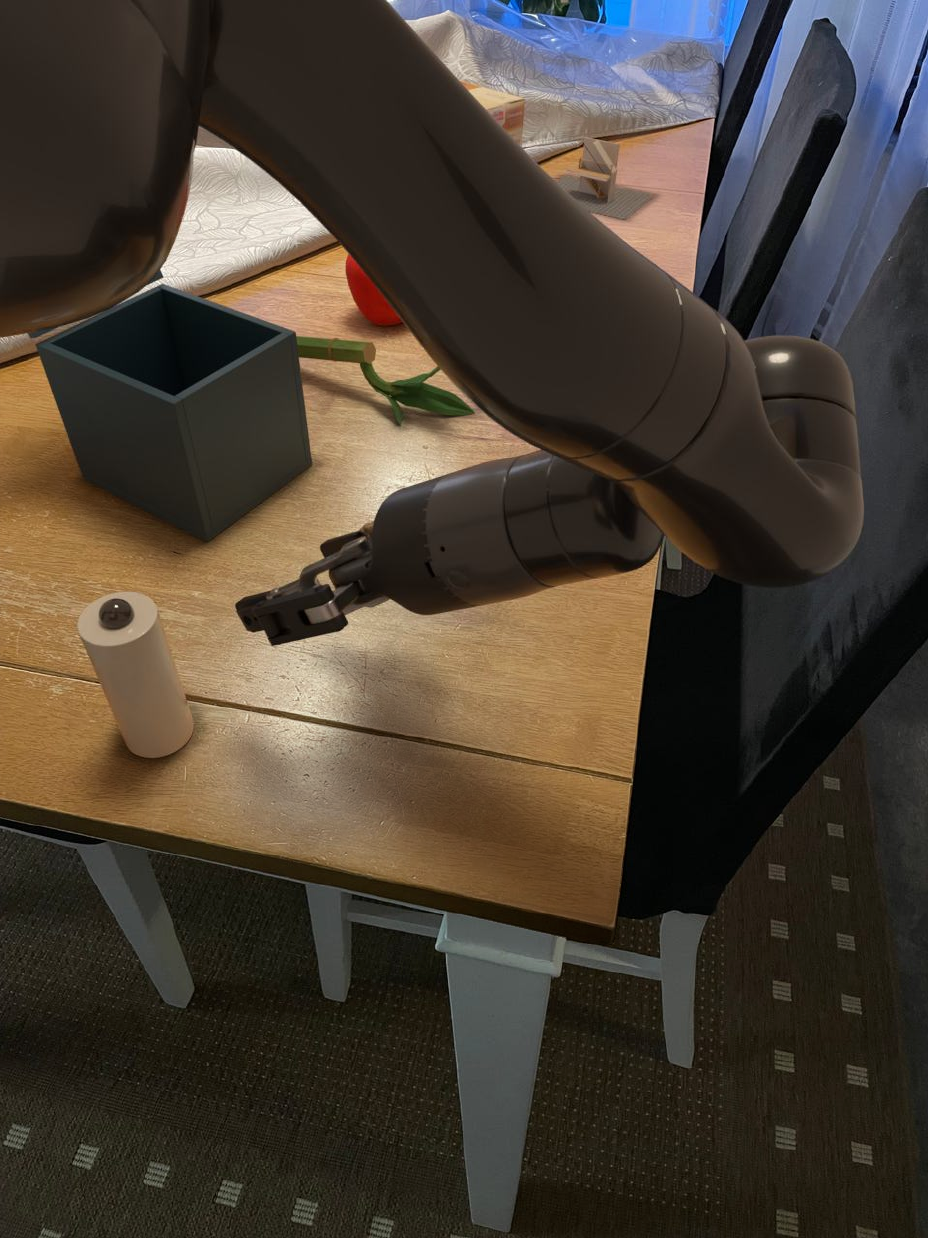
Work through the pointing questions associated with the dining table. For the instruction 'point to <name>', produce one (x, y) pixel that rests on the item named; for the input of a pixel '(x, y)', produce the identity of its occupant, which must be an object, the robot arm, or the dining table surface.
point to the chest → (181, 406)
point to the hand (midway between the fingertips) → (288, 584)
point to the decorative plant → (402, 390)
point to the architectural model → (601, 182)
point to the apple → (369, 296)
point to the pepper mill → (137, 672)
